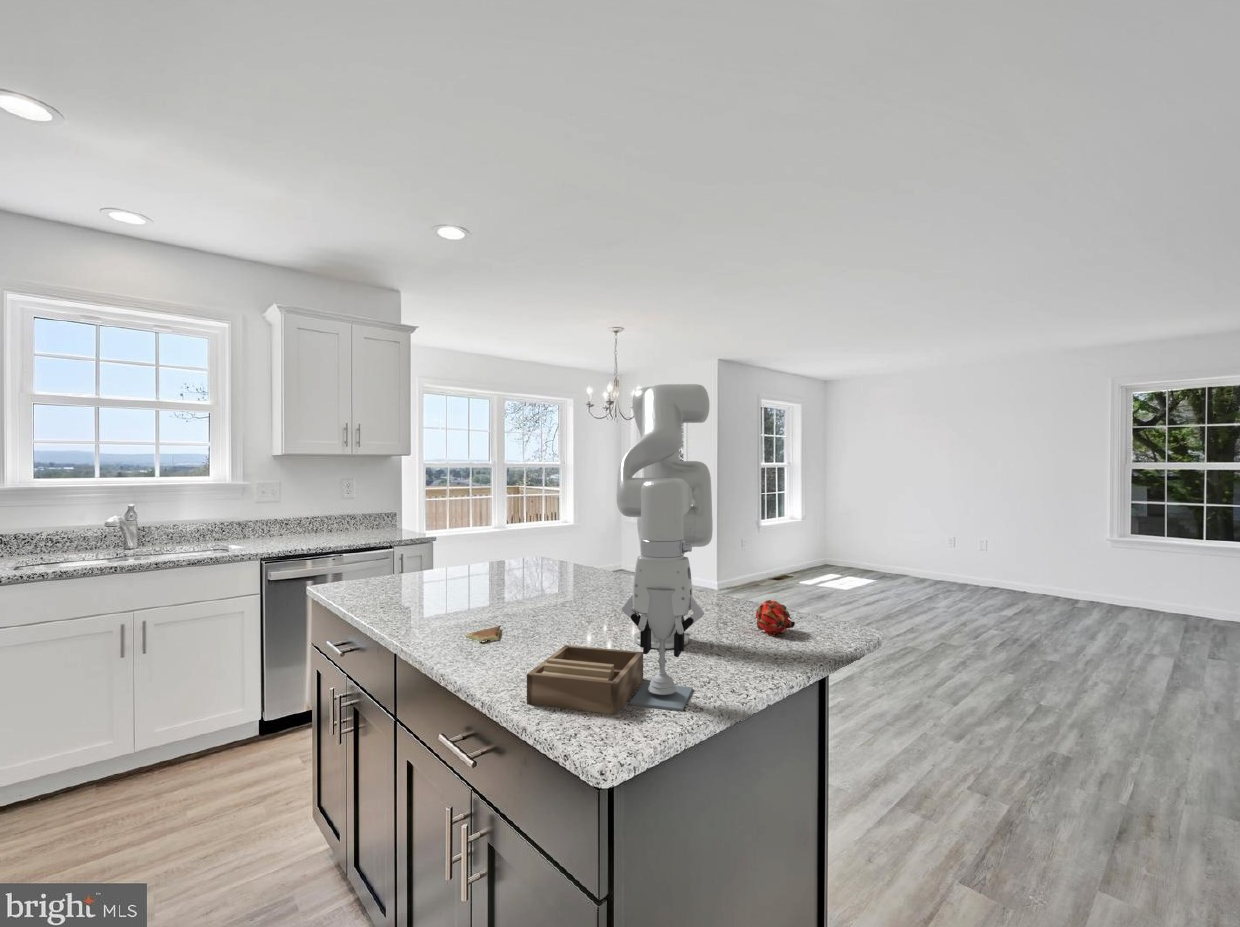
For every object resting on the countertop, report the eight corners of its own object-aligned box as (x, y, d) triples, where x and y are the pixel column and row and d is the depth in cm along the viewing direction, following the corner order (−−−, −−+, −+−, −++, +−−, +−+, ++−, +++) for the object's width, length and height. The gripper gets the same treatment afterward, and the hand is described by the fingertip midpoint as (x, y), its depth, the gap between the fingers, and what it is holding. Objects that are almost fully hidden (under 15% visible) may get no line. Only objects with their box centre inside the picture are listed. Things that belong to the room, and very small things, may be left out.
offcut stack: (549, 695, 103) (549, 658, 103) (614, 702, 100) (614, 664, 100) (541, 702, 100) (541, 664, 100) (607, 710, 96) (607, 671, 96)
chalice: (635, 684, 104) (635, 584, 104) (669, 679, 107) (669, 581, 107) (654, 699, 97) (654, 591, 97) (689, 693, 100) (689, 588, 100)
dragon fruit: (767, 632, 150) (784, 653, 138) (742, 613, 148) (756, 633, 137) (787, 606, 149) (806, 625, 137) (762, 587, 148) (778, 605, 136)
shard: (500, 631, 146) (500, 624, 146) (520, 636, 141) (520, 629, 141) (463, 640, 138) (463, 633, 138) (483, 647, 133) (483, 639, 133)
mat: (644, 684, 108) (644, 682, 108) (692, 689, 105) (692, 687, 105) (630, 704, 98) (630, 702, 98) (682, 711, 96) (682, 708, 96)
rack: (565, 670, 116) (565, 645, 116) (643, 678, 111) (643, 652, 111) (526, 703, 99) (526, 674, 99) (616, 714, 94) (616, 683, 94)
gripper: (713, 548, 103) (713, 651, 103) (622, 545, 108) (622, 643, 108) (707, 554, 96) (707, 664, 96) (609, 550, 101) (609, 655, 101)
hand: (662, 652), depth 102 cm, fingers closed on chalice, 4 cm apart
